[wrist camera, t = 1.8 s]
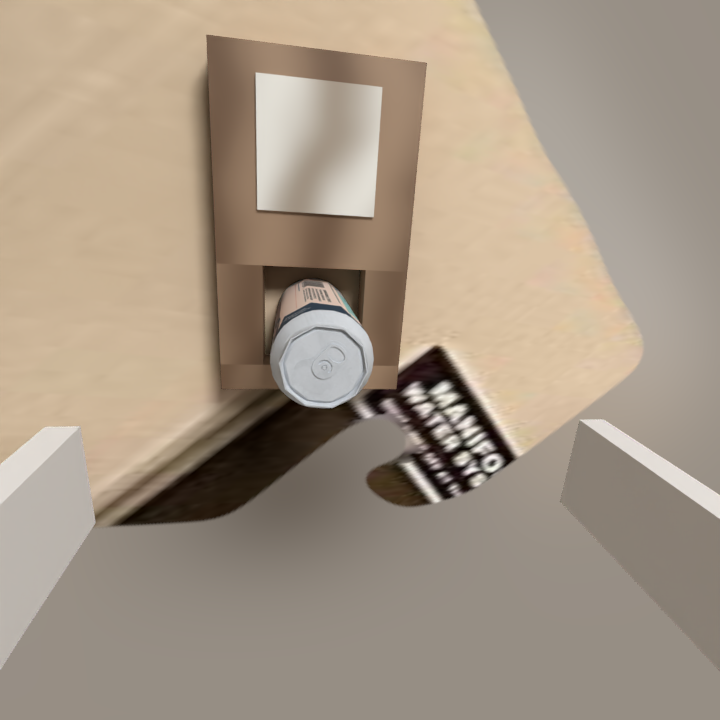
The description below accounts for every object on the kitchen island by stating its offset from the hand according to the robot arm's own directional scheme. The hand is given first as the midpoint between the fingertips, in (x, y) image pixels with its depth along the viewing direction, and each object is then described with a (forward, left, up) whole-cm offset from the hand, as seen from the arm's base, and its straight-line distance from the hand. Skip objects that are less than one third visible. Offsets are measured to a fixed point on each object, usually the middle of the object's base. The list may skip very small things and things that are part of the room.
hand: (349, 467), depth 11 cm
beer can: (0, 0, -20) cm, 20 cm away
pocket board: (0, +5, -20) cm, 21 cm away
